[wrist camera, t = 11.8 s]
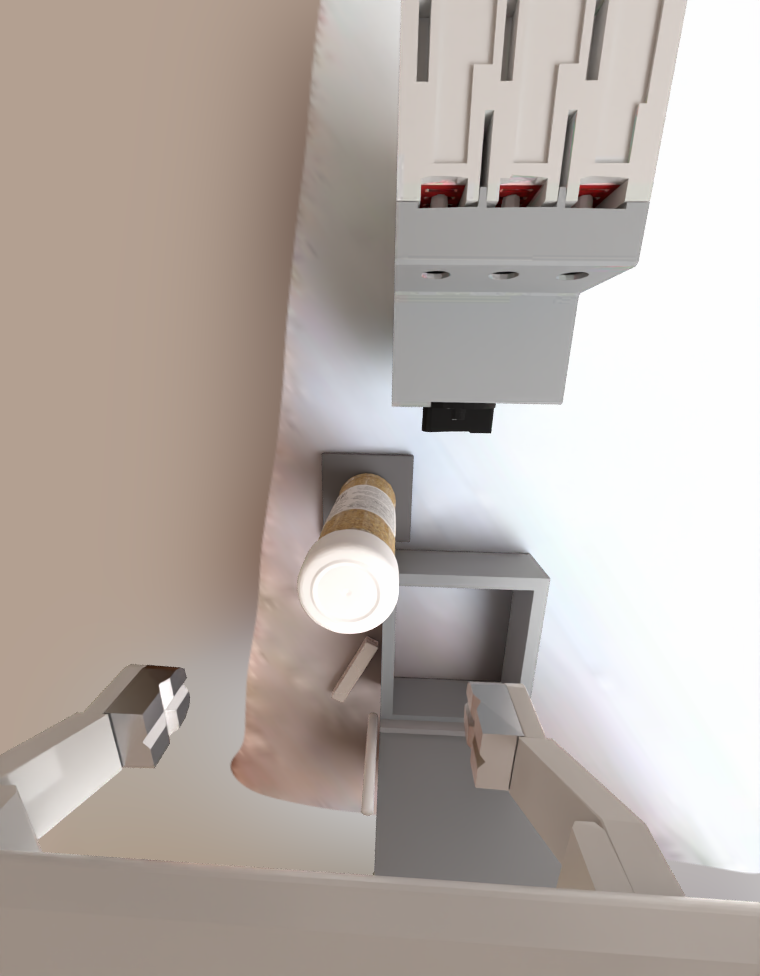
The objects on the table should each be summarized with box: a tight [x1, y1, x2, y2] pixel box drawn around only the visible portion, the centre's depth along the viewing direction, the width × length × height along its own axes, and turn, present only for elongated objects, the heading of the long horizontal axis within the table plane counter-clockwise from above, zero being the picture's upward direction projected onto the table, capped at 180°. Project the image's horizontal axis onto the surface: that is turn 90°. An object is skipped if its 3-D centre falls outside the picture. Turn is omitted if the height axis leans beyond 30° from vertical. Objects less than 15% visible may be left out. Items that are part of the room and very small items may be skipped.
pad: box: [322, 453, 414, 542], centre depth 29 cm, size 7×7×1 cm
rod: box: [332, 636, 379, 703], centre depth 34 cm, size 7×1×1 cm, turn 152°
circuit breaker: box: [392, 0, 687, 433], centre depth 18 cm, size 8×14×15 cm, turn 179°
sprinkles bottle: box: [297, 473, 399, 634], centre depth 22 cm, size 5×5×14 cm
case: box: [361, 550, 562, 888], centre depth 25 cm, size 15×13×16 cm
